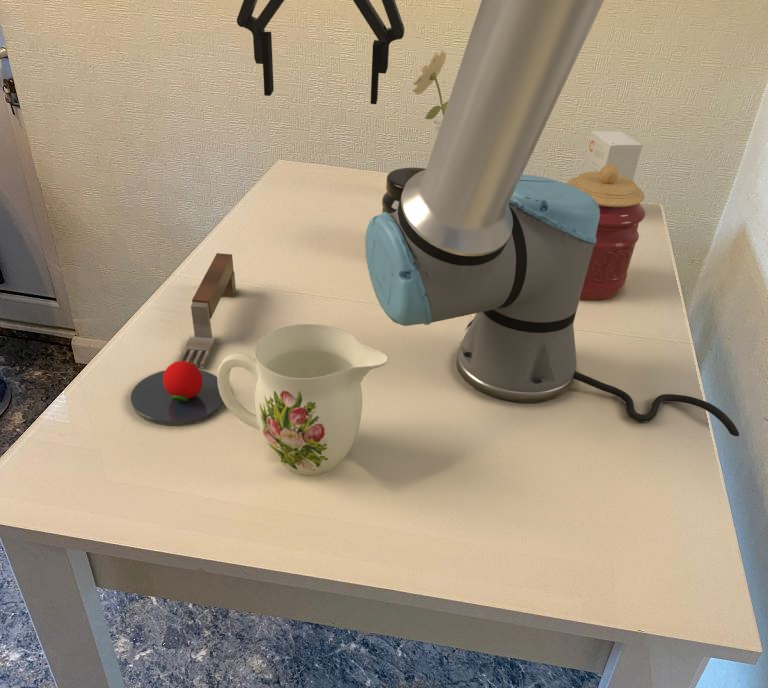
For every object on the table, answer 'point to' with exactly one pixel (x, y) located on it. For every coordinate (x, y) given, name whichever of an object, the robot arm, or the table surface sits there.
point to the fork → (208, 307)
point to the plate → (164, 410)
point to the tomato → (182, 380)
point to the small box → (612, 152)
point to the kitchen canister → (611, 229)
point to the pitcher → (304, 393)
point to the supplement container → (396, 187)
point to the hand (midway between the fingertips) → (321, 97)
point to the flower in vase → (427, 80)
